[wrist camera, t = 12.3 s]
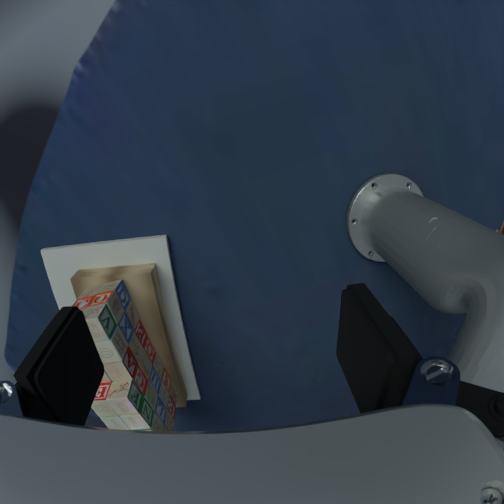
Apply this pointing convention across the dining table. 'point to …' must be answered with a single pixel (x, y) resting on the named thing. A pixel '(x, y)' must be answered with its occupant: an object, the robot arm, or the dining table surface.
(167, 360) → the oak plinth
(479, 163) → the dining table surface
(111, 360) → the stack of blocks
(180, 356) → the cream tile
